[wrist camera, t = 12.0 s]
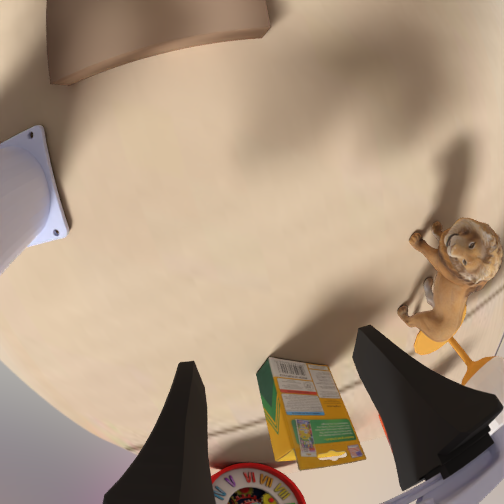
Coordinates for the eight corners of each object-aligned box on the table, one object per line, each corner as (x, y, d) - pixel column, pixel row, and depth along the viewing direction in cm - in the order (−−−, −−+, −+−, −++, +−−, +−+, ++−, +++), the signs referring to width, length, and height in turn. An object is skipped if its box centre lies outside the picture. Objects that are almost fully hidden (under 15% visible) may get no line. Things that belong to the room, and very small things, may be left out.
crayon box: (254, 374, 26) (278, 481, 16) (268, 355, 25) (299, 469, 15) (313, 381, 28) (346, 472, 18) (328, 364, 27) (368, 458, 17)
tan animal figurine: (395, 198, 19) (479, 255, 11) (441, 182, 19) (522, 227, 11) (394, 327, 27) (437, 390, 19) (432, 308, 26) (477, 362, 19)
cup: (468, 319, 30) (531, 396, 16) (422, 361, 32) (476, 447, 18) (461, 286, 26) (544, 378, 12) (405, 338, 28) (475, 445, 14)
